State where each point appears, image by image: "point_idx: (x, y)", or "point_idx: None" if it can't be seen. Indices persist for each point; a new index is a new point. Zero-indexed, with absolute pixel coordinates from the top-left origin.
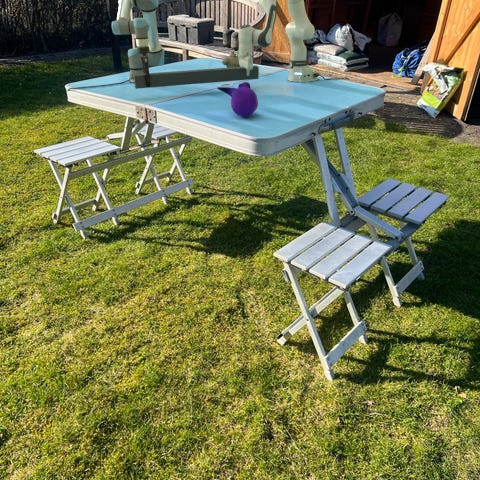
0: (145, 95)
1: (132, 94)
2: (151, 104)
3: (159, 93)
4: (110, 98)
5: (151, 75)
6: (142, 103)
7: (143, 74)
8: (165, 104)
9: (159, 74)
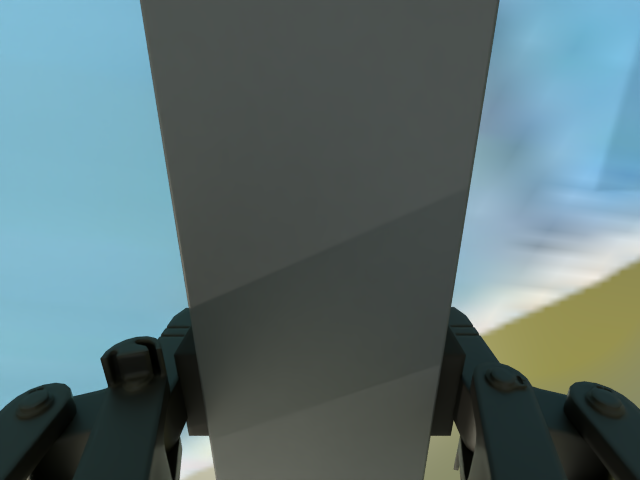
0: (147, 235)
1: (82, 333)
2: (537, 230)
3: (74, 78)
4: (192, 468)
5: (445, 305)
6: (457, 294)
7: (323, 465)
8: (625, 99)
9: (484, 51)
